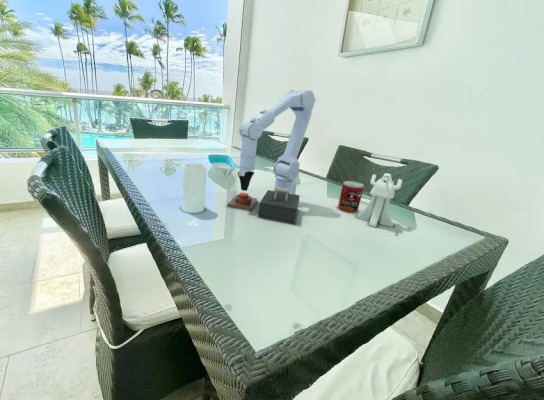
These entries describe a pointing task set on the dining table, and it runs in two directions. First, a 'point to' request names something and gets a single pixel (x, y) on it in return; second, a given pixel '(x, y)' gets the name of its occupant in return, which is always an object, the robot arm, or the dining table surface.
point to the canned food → (350, 196)
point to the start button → (243, 195)
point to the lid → (280, 199)
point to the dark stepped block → (277, 214)
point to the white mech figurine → (380, 201)
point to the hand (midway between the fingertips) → (244, 190)
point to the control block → (242, 203)
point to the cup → (193, 187)
